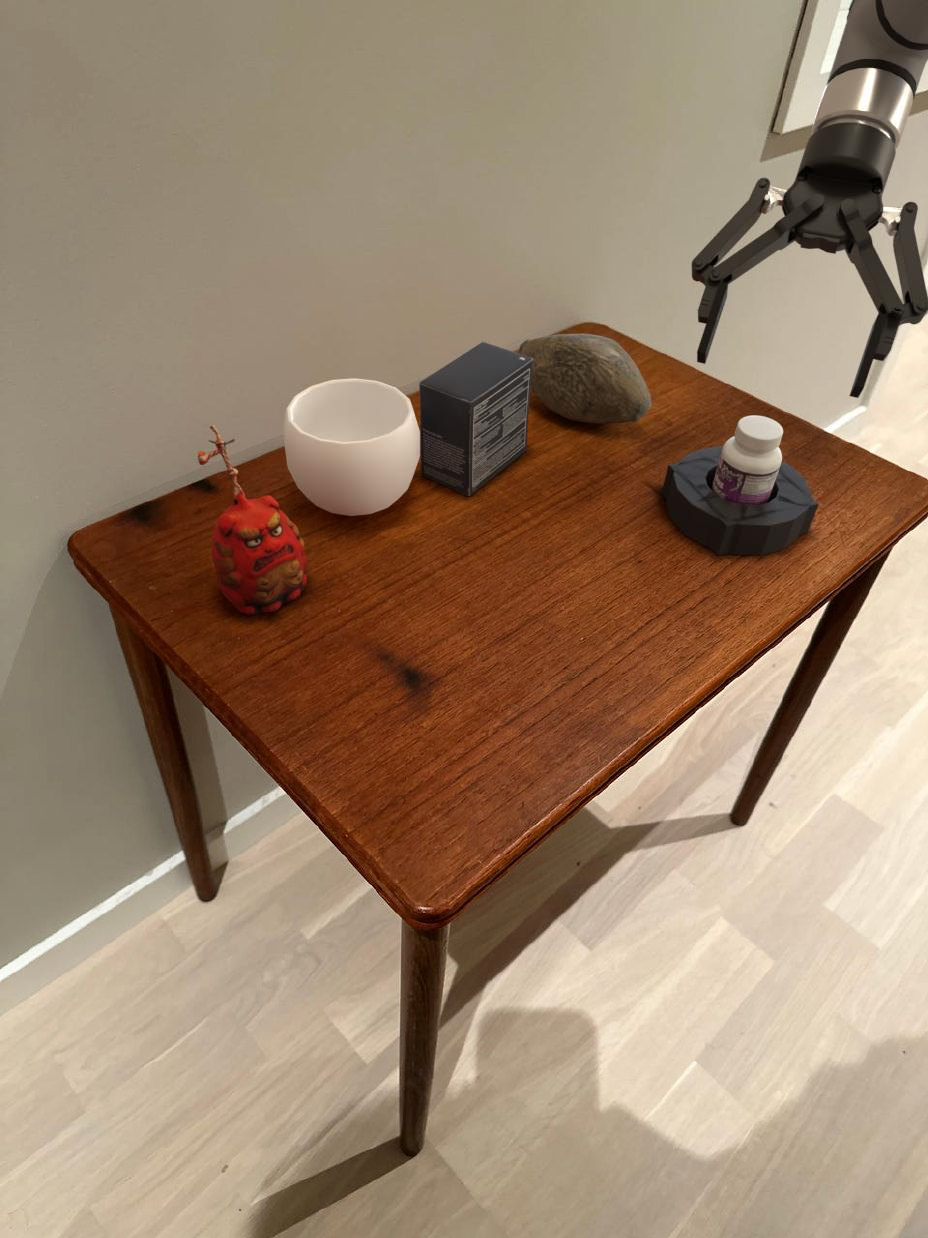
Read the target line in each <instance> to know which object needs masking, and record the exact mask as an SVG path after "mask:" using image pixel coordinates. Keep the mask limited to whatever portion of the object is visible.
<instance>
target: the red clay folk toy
mask: <svg viewBox="0 0 928 1238" xmlns="http://www.w3.org/2000/svg"><path fill="white" fill-rule="evenodd" d="M209 429H210V430H212V432H213V433H214V434H215V436H216V438H215V440H212V439H209V440H208V442H209V443H212V444H214V445H215V447H216V449H215V450H211V451H208V452H205V451H203V450H202V451H201V450H199V451H197V460H198V461H197V462H198V464H199V465H200V466H204V465H206V464H208V463H209V461H210V459H212V458H213V457H216V456H218V455H221V457H222V459H223V461H224V463H225V466H226V468H227V470H228V477H229V479H230V481H231V483H232V494H233V500H232V503H231V504H230V505H229V506H228V507H227V508H226V509H225V510H224V511H223V512H222V513H221V514H220V516H219V517H218V518H217V520H216V521H215V524H214V527H213V534H212V541H211V555H212V556H211V557H212V562H213V565H214V569H215V572H216V576H217V581H218V586H219V588H220V591H221V593H222V595H223V597H224V598H225V599H227V601H228V602H229V603H231V604H232V606H233V607H234V608H235V609H236V610H237V611H239V612H240V613H242V614H245V615H249V616H251V615H255V614H257V613H273V612H276V611H277V610H279V609H280V608H281V607H282V605H283V604H286V602H294V601H295V600H296V599H298V598H299V597H300V596H301V593H302V592H303V591H304V590H305V589H306V588H307V585H308V577H307V574H306V571H307V564H308V560H307V555H306V554H307V553H305V550H306V544H305V541H304V539H303V538H302V537H301V535H300V531H299V529H298V526H297V525H296V524H295V523H294V522H293V521H291V520H290V518H289V517H288V515H286V513H285V512H283V510H281V509H280V505H279V502H278V501H277V500H276V499H275V498H273V497H272V496H271V495H268V494H267V495H262V496H260V497H258V498H257V497H256V498H249V499H247V498H246V495H245V493H244V490H243V489H242V488H241V486H240V484H239V482H238V481H237V476H238V473H239V470H237V468H234V467H233V465H232V463H231V460H230V455H229V452H228V449H227V446H226V445H229V444H231V443H234V442H235V441H236V439H235V438H232V439H230V440H228V441H223V440H222V437H221V435H220V432H219V431H218V429H217V427H216V426H215V425H209Z"/></svg>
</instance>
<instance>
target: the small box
mask: <svg viewBox="0 0 928 1238" xmlns="http://www.w3.org/2000/svg"><path fill="white" fill-rule="evenodd" d="M532 364H533V358H530V357H527V356H524V355H521V354H520V353H518V352H515V351H512V350H509V349H507V348H503V347H500V346H497V345H494V344H491V343H489V342H485V341H481V342H480V343H478V344H477V345H475V346H474V347H472V348H470V350H468V351H466V352H465V353H463V354H462V355H460V356H458V357H457V358H455V359H454V360H452V361H451V362H449V363H447V364H446V365H444V366H443V367H441V368H439V369H438V370H437V371H435V372H434V373H432V374H430V375H429V376H427V377H426V378H423V379H422V380H421V381H419V382H418V384H419V425H420V426H419V430H420V473H421V474H420V475H421V476H422V477H425V478H426V479H429V480H431V481H433V482H435V483H437V484H439V485H442V486H444V487H446V488H448V489H451V490H453V491H455V492H457V493H460V494H462V495H464V496H465V497H471V496H472V495H473V494H475V493H476V492H477V491H479V490H480V489H481V488H482V487H483V486H485V485H486V484H488V482H490V481H491V480H492V479H494V478H495V477H496V476H497V475H498V474H500V473H501V472H502V471H504V470H505V469H506V468H507V467H508V466H509V465H511V464H512V463H513V462H515V460H517V459H518V458H520V457H521V456H522V455H523V454H524V453H525V452H527V450H528V431H529V429H528V427H529V416H530V415H529V414H530V402H531V390H532V386H531V376H532Z"/></svg>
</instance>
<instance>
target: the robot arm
mask: <svg viewBox="0 0 928 1238" xmlns="http://www.w3.org/2000/svg"><path fill="white" fill-rule="evenodd" d="M833 59H834V60H833V63H832V66H831V69H830V72H829V75H828V79H827V81H826V85H825V87H824V88H823V89H824V90H823V92H822V95H821V98H820V102H819V104H818V107H817V111H816V115H815V117H814V120H813V123H812V126H811V129H810V137H809V138H808V140H807V142H806V145H805V148H804V151H803V155H802V157H801V161H800V164H799V167H798V170H797V173H796V176H795V179H794V181H793V183H792V184H791V185H790V187H789V188H788V189H783V188H779V187H777V186H773V185H771V180H770V179H769V178H768V177H761V178H759V179H758V180H757V181H756V183H755V185H754V187H753V189H752V191H751V194H750V196H749V198H748V199H747V201H746V202H745V203H744V204H743V205H742V206H741V207H740V209H739V210H738V211H736V213H735V214H734V215H733V216H732V217H731V218H730V219H729V221H727V223H726V224H725V225H724V226H723V227H722V228H721V229H720V230H719V231H718V232H717V233H716V234H715V235H714V237H712V239H710V241H709V242H708V243H707V244H706V245H705V246H704V247H703V249H702V250H700V252H699V253H697V255H696V256H695V257H694V258H693V259H692V261H691V278H692V280H693V281H695V282H698V283H699V282H700V283H701V284H702V285H704V286H705V287H704V290H703V293H702V295H701V299H700V301H699V306H698V309H697V322H698V323H699V324H705V326H704V329H703V332H702V335H701V337H700V341H699V344H698V348H697V350H696V363H699V364H703V365H706V363H707V360H708V357H709V354H710V350H711V348H712V346H713V345H712V344H713V341H714V338H715V335H716V332H717V329H718V326H719V323H720V319H721V316H722V314H723V311H724V307H725V304H726V301H727V298H728V293H729V292H728V291H729V290H728V289H729V285H730V284H731V283H732V282H734V281H736V280H737V279H739V278H740V277H741V276H743V275H744V274H746V273H748V272H749V271H750V270H752V269H753V268H755V267H756V266H757V265H759V264H760V263H762V262H763V261H765V260H766V259H768V258H769V257H770V256H772V255H774V254H775V253H776V252H778V251H782V250H784V249H786V248H787V247H788V246H790V245H791V244H793V243H795V242H796V243H797V244H798V245H799V246H800V248H801V249H805V250H806V249H807V250H816V249H817V250H821V251H823V252H824V253H827V254H833V255H836V254H837V252H842V251H845V254H846V257H848V259H849V261H850V263H851V264H853V265H854V267H855V269H856V271H857V273H858V275H859V277H860V279H861V281H862V283H863V285H864V287H865V289H866V291H867V293H868V295H869V297H870V299H871V301H872V303H873V305H874V307H875V310H876V311H877V313H878V314H877V315H876V318H875V319H874V321H873V323H872V326H871V328H870V332H869V334H868V335H869V336H868V338H867V341H866V344H865V347H864V350H863V353H862V356H861V359H860V362H859V366H858V367H857V372H856V375H855V378H854V380H853V384H852V386H851V390H850V393H849V397H852V398H855V399H858V398H859V397H860V396H861V395H862V392H863V390H864V389H865V387H866V383H867V379H868V377H869V374H870V370H871V369H872V368H871V367H872V364H873V362H874V360H875V361H880V362H884V361H885V359H886V358H887V357H888V356H889V354H890V352H891V351H892V348H893V345H894V343H895V342H894V341H895V339H896V336H897V332H898V330H899V327H900V326H901V325H905V324H910V325H918V324H920V323H921V322H922V320H924V317H925V315H926V314H927V312H928V291H927V287H926V281H925V277H924V271H923V267H922V261H921V257H920V252H919V246H918V242H917V241H918V240H917V237H916V232H915V225H916V221H917V220H916V219H917V215H918V210H919V206H918V204H917V203H916V202H914V201H908V202H906V203H905V204H903V206H902V207H899V206H898V207H897V206H884V204H883V194H884V192H885V188H886V186H887V182H888V179H889V176H890V173H891V171H892V167H893V164H894V160H895V158H896V152H897V151H896V150H897V149H898V147H899V145H900V142H901V139H902V136H903V133H904V131H905V127H906V125H907V121H908V119H909V115H910V113H911V109H912V107H913V104H914V103H913V102H914V100H915V97H916V92H917V90H918V87H919V84H920V81H921V78H922V76H923V74H924V69H925V68H926V64H927V63H928V0H851V1H850V4H849V7H848V12H847V15H846V22H845V25H844V29H843V31H842V35H841V38H840V40H839V43H838V47H837V50H836V54H835V57H834V58H833ZM777 206H779V207H781V209H782V212H783V213H782V214H783V215H784V216H783V217H781V218H780V219H778V221H776V223H774V225H773V226H772V227H771V228H769V229H768V230H767V231H765V232H764V233H762V234H760V235H759V236H758V237H756V238H755V239H753V240H752V241H750V242H748V244H746V245H745V246H743V247H742V248H740V249H738V250H737V251H736V252H735V253H733V254H732V255H730V256H729V257H727V258H725V257H726V256H727V254H729V252H730V251H731V250H732V249H733V248H734V247H735V246H736V245H737V244H738V243H739V241H741V239H742V238H743V237H744V236H745V235H746V234H747V233H748V232H749V231H750V230H751V229H752V227H753V226H754V225H755V224H756V223H757V222H758V220H759V219H760V217H761V215H762V214H763V215H766V214H768V213H771V211H772V210H773V209H774V208H775V207H777ZM878 224H883V225H884V226H885V231H886V234H887V235H888V236H890V237H892V238H893V239H892V247H893V255H894V259H895V264H896V269H897V275H898V279H899V285H900V289H901V295H902V299H901V298H900V295H899V294H898V292H897V290H896V287H895V286H894V284H893V281H892V280H891V278H890V276H889V273H888V272H887V270H886V267H885V266H884V264H883V262H882V260H881V257H880V256H879V254H878V252H877V250H876V248H875V246H874V244H873V237H872V236H871V234H870V231H872V230H873V229H874V228H875V227H876V226H877V225H878ZM724 258H725V259H724ZM723 259H724V260H723ZM722 260H723V261H722ZM721 261H722V262H721ZM902 300H903V302H902Z"/></svg>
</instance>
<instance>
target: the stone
mask: <svg viewBox="0 0 928 1238" xmlns="http://www.w3.org/2000/svg"><path fill="white" fill-rule="evenodd" d="M518 352H519V354H521V355H524V356H527V357H530V358H533V364H532V376H531V390H533V393H534V395H535V397H536V398H537V399H538V400H539V401H540V402H541V403H542V404H543V405H544V406H545V407H547V408H548V409H549V410H550V411H552V412H553V413H556V414H558V415H559V416H561V417H562V418H565V419H567V420H570V421H573V422H580V423H581V422H583V423H588V424H607V425H608V424H622V423H624V424H625V423H633V422H637V421H639V420H640V419H643V418H644V417H645V416H646V415H647V414H648V413H649V411H650V409H651V405H652V397H651V396H652V395H651V393H650V391H649V388H648V385H647V383H646V381H645V379H644V378H643V376H642V374H641V371H640V370H639V368H638V366H637V364H636V363H635V362H634V360H633V359H632V357H631V355H629V353H628V352H627V351H626V350H625V349H624V348H623V347H622V346H621V344H619V342H617V341H616V340H614V339H612V338H609V337H606V336H602V335H597V334H592V333H591V334H590V333H567V334H566V333H556V334H552V335H545V336H540V337H537V338H532V339H529V338H527V339H525V340H524V341H523V342H522V343H521V344H520V346H519V348H518Z"/></svg>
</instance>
